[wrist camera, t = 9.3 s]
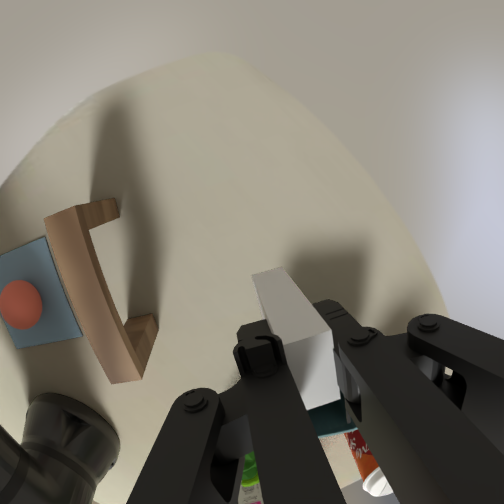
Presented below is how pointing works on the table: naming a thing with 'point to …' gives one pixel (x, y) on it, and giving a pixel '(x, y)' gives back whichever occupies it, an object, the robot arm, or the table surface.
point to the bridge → (98, 293)
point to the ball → (20, 304)
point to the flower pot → (331, 418)
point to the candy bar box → (250, 495)
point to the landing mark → (50, 289)
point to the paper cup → (367, 465)
